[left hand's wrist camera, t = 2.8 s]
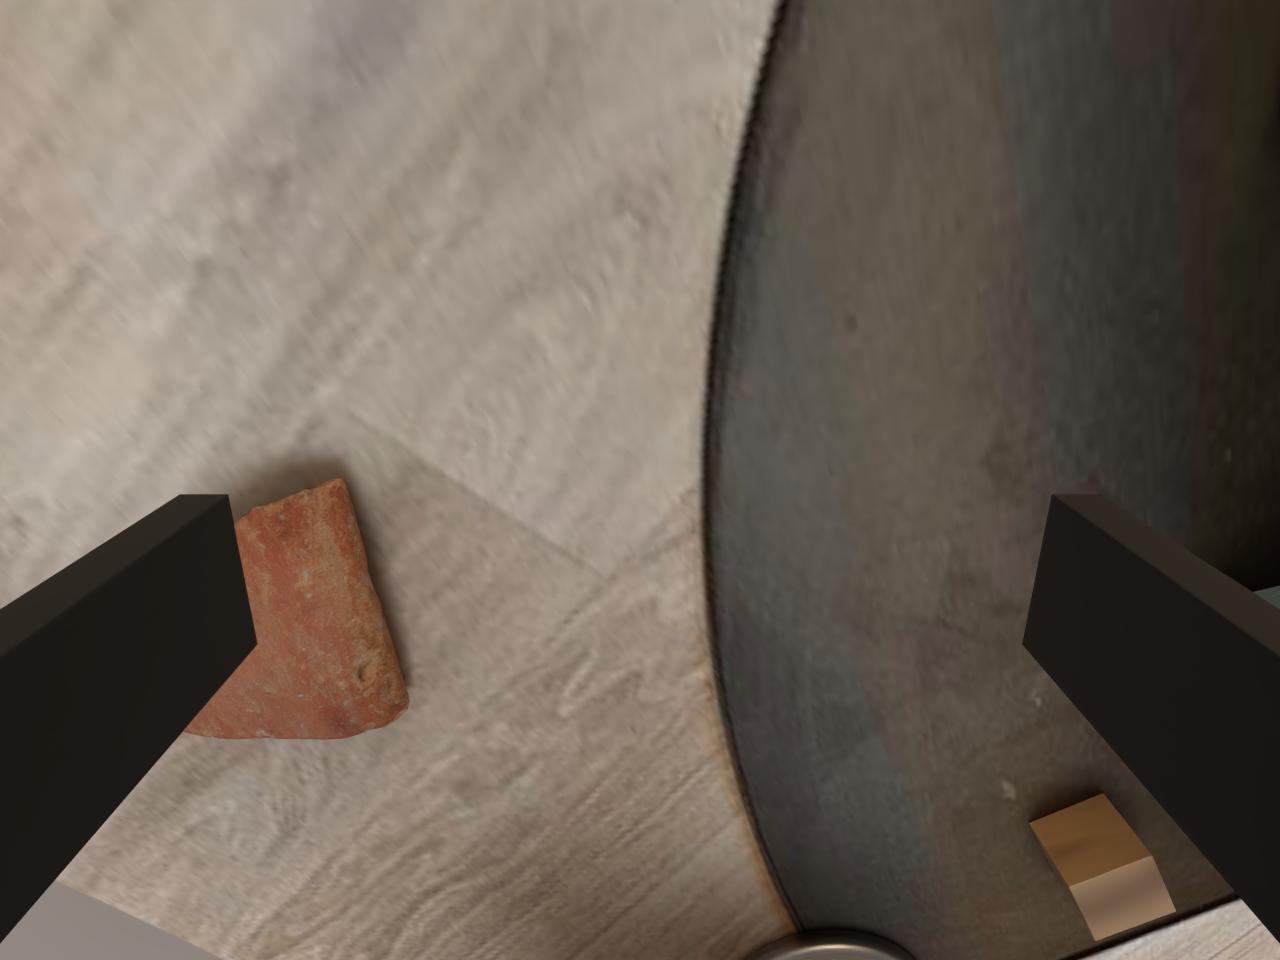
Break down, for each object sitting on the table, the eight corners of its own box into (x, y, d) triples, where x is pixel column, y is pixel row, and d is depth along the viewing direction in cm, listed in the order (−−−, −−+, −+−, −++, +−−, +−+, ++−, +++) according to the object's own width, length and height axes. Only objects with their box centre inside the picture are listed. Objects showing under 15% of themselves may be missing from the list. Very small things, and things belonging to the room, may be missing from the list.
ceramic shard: (22, 538, 37) (339, 485, 38) (97, 507, 43) (367, 462, 45) (111, 806, 40) (402, 747, 41) (169, 741, 46) (420, 692, 48)
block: (1126, 845, 51) (1176, 911, 46) (1053, 873, 51) (1095, 941, 47) (1103, 792, 49) (1152, 855, 44) (1028, 822, 50) (1068, 887, 45)
